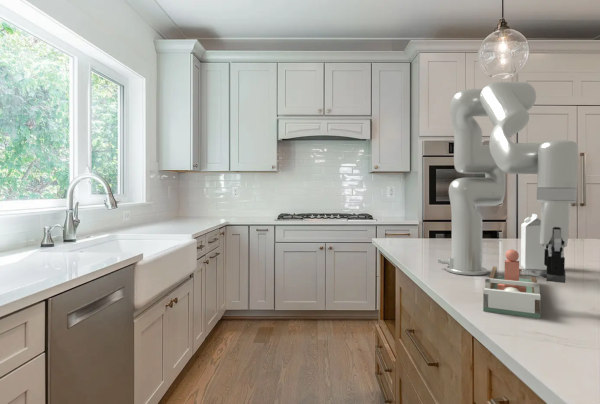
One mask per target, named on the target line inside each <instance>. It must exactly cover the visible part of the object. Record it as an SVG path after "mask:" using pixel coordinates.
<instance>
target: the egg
mask: <svg viewBox="0 0 600 404" xmlns="http://www.w3.org/2000/svg"><path fill="white" fill-rule="evenodd" d="M504 290H506V291H515V292H520V291H519V290H518V289H516V288H514V287H507V288H505V289H504Z"/></svg>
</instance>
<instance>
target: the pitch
mask: <svg viewBox="0 0 600 404" xmlns="http://www.w3.org/2000/svg"><path fill="white" fill-rule="evenodd" d="M497 270H498V267H497V266H493V267H492V268H491V272H490V274H489V277H488V278H491V279H501V280H505V276H498V273H497V272H498V271H497ZM537 278H538V277H530V279H529V278H520V277H519V281H522V282H532V283H538V279H537ZM498 284H500V283H491V282H490V289H497V285H498ZM519 286H520V285H519ZM526 293H534V287H530V286H526ZM485 295H486V294H485ZM485 295H484V294H483V297H485V298H486V297H487V296H488V294H487V296H485ZM483 297H482V298H483ZM485 298H483V299H484V300H482V301H486V300H487V299H488V298H487V299H485ZM537 302H539V303H540V304H541V299H540V300H538V301H536V300H535V303H536V304H538V305H537V306H538V308H537V306H536V304H535V313H528V312H520V311H512V310H505V309H497V308H489V307H488V305H487V304H488V300H487V302H486V303H487V304H485V305H484V303H485V302H484V303H483V302H482V304H483V305H482V309H483V310H482V311H483V312H488V313H494V314H502V315H503V314H504V315H511V316H518V317H525V318H530V319H538V318H539V320H540V319H541V305H540V306H539V303H537ZM483 306H484V307H483ZM486 306H487V307H486ZM536 309H540V310H536ZM536 311H540V312H536ZM536 313H540V314H536Z"/></svg>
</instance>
